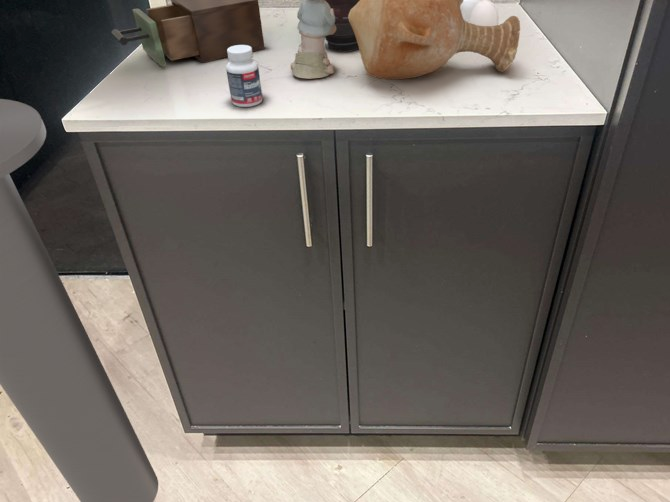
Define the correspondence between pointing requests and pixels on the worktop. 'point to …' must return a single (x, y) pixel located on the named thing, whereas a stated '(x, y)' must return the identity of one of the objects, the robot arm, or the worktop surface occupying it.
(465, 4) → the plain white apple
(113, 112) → the worktop surface
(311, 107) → the worktop surface
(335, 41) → the camera lens
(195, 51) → the drawer
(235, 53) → the pill bottle
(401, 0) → the jug
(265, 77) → the worktop surface
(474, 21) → the egg
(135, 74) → the worktop surface
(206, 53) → the cabinet
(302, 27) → the figurine
